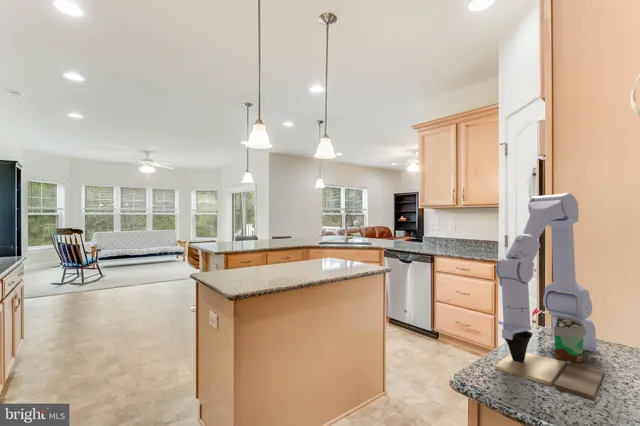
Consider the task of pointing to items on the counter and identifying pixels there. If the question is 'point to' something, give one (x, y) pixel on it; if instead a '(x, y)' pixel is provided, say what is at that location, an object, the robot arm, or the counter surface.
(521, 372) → the oak plank
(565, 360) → the food container
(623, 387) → the counter surface
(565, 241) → the robot arm
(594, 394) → the walnut board
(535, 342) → the counter surface
